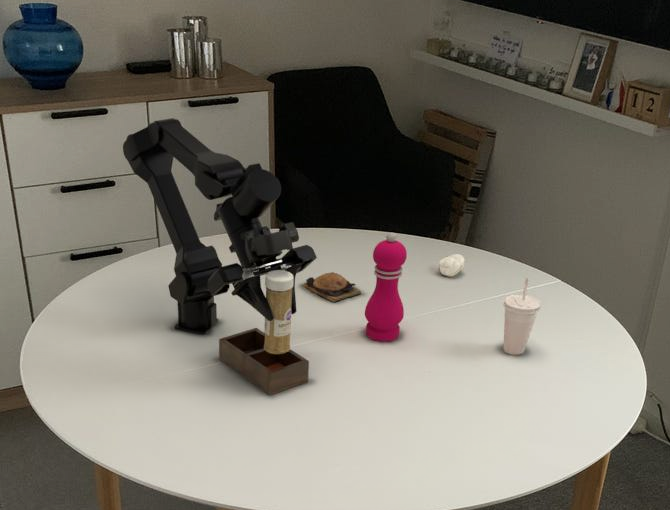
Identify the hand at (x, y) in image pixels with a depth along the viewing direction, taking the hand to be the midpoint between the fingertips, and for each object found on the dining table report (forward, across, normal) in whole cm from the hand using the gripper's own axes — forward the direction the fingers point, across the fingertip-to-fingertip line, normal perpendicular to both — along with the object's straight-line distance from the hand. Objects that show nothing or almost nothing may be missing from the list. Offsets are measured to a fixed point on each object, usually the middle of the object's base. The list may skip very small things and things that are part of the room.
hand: (283, 316), depth 144 cm
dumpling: (-4, +60, +22) cm, 63 cm away
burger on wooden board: (-8, +32, +27) cm, 43 cm away
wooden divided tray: (+5, 0, +13) cm, 14 cm away
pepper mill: (+6, +27, +12) cm, 30 cm away
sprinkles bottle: (+4, 0, +6) cm, 7 cm away
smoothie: (+19, +42, -2) cm, 47 cm away
